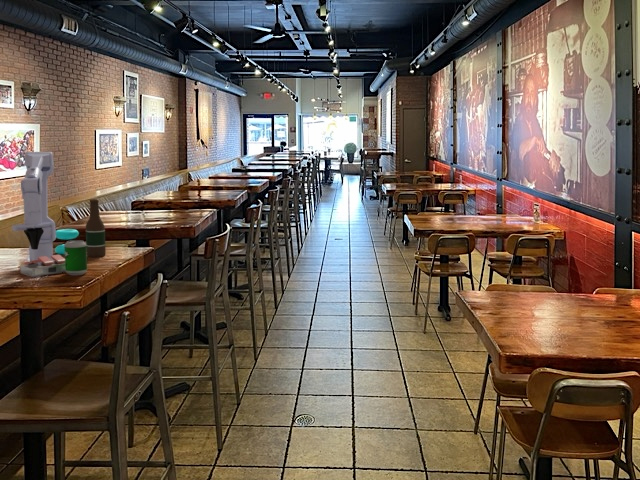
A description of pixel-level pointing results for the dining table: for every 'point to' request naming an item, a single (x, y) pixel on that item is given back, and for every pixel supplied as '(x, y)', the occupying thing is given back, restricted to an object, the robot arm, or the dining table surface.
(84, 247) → the soda can
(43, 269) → the console
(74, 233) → the donuts
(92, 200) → the beer bottle
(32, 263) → the rocker
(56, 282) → the dining table surface
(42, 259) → the rocker
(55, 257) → the rocker
